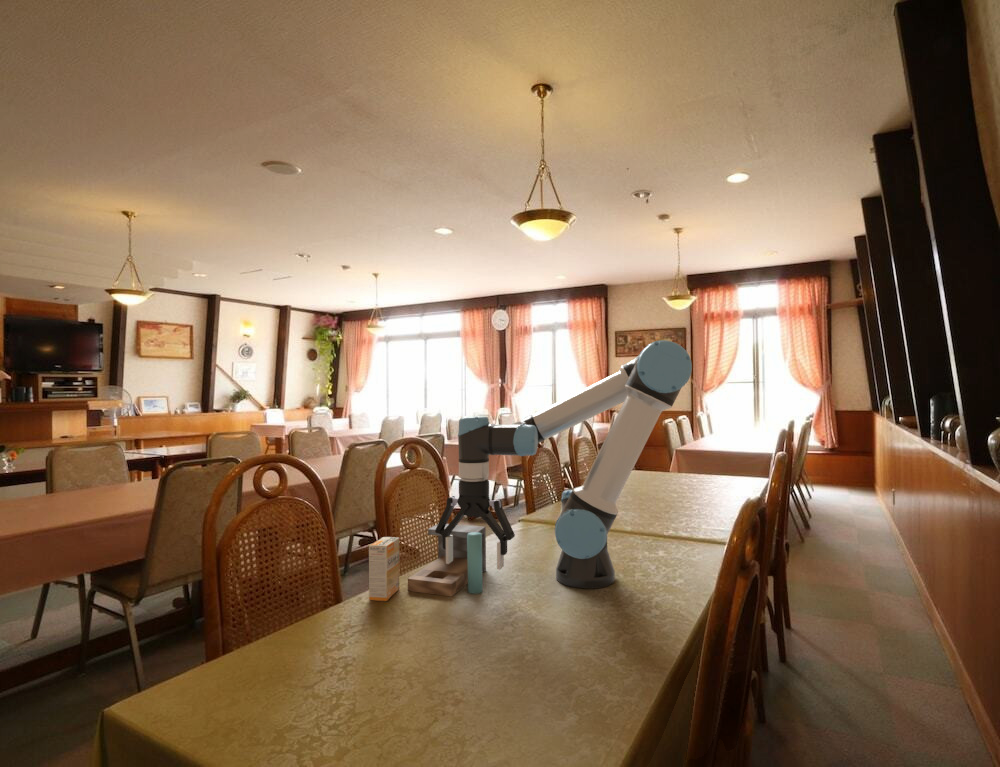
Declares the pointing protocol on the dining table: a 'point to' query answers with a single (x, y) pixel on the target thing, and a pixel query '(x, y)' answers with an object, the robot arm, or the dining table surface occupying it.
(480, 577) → the peg
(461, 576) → the socket station
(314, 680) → the dining table surface
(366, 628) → the dining table surface
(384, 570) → the supplement box
